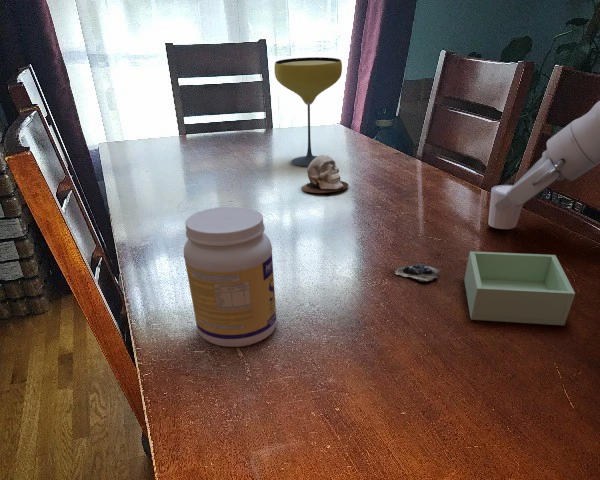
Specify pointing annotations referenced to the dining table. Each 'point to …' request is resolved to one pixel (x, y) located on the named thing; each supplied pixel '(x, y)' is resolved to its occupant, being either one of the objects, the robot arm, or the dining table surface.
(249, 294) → the supplement tub
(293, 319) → the dining table surface
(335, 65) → the cocktail glass
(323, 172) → the skull
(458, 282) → the dining table surface
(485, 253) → the bin
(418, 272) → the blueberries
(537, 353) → the dining table surface
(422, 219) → the dining table surface
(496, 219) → the white cylinder
